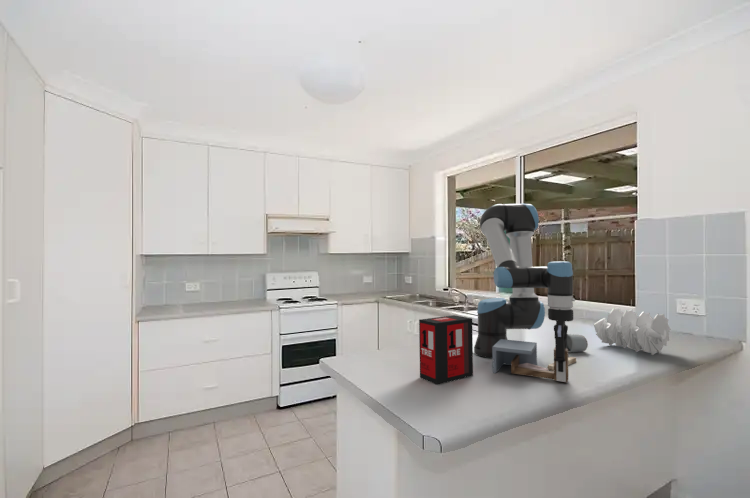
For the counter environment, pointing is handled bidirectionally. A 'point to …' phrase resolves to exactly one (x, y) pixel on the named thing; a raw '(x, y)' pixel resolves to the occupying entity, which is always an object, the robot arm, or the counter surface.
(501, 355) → the grey storage bin
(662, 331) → the spiral staircase
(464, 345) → the cleaning product box
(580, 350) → the ceramic mug
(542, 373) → the brown wooden bent piece
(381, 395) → the counter surface
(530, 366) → the soap bar
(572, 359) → the stick
